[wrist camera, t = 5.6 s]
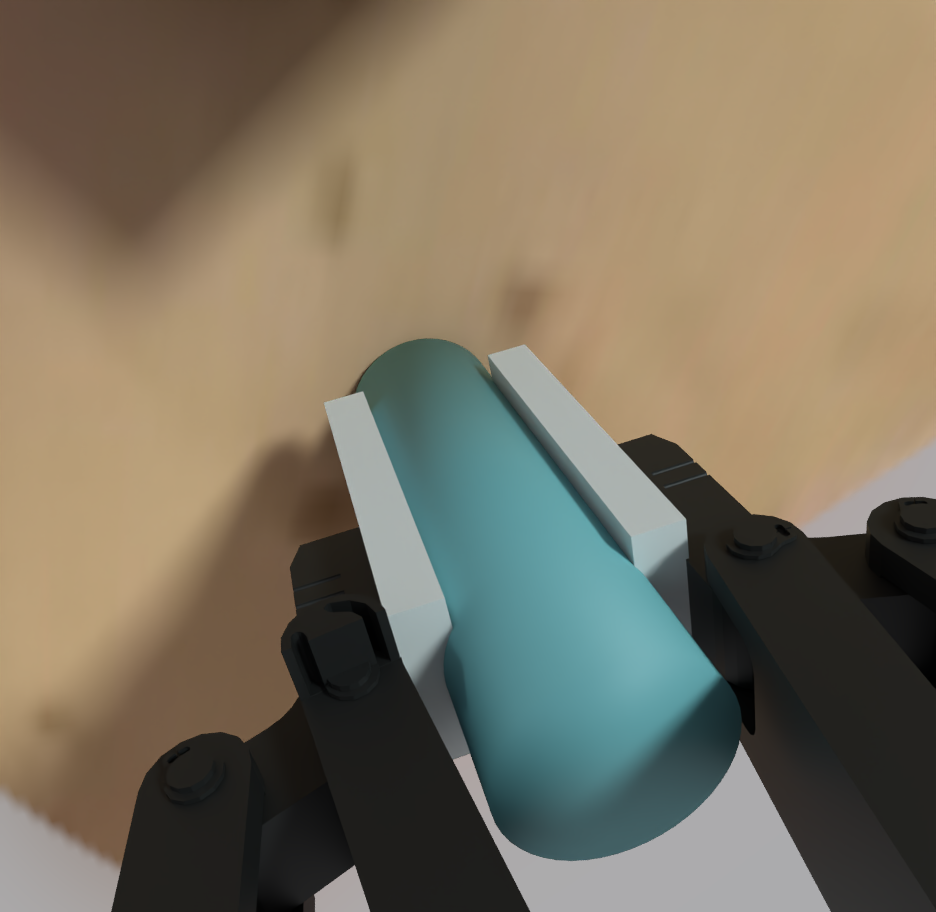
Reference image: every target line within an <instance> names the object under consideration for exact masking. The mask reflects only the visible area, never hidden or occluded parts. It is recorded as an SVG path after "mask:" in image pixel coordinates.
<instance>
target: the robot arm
mask: <svg viewBox="0 0 936 912" xmlns="http://www.w3.org/2000/svg"><path fill="white" fill-rule="evenodd" d="M488 360H489V365H490V370H491V375H492V380H493V382H494V383H495V384H496V385H497V387H498V388H499V389H500V391H501V392H502V393H503V395H504V396H505V397H506V399H507V400H508V401H509V402H510V404H511V405H512V406H513V408H514V409H515V410H516V412H517V413H518V414H519V416H520V417H521V418H522V420H523V421H524V422H525V423H526V425H527V426H528V427H529V429H530V430H531V431H532V433H533V434H534V435H535V437H536V438H537V439H538V440H539V442H540V443H541V444H542V446H543V447H544V448H545V450H546V451H547V452H548V454H549V455H550V456H551V458H552V459H553V460H554V461H555V463H556V464H557V465H558V467H559V468H560V469H561V471H562V472H563V473H564V475H565V476H566V477H567V479H568V480H569V481H570V482H571V484H572V485H573V486H574V488H575V489H576V490H577V492H578V493H579V494H580V496H581V497H582V498H583V499H584V501H585V502H586V503H587V505H588V506H589V507H590V509H591V510H592V511H593V513H594V514H595V515H596V517H597V518H598V519H599V520H600V522H601V523H602V524H603V526H604V527H605V528H606V530H607V531H608V532H609V534H610V535H611V536H612V537H613V539H614V540H615V541H616V543H617V544H618V545H619V547H620V548H621V549H622V551H623V552H624V553H625V555H626V556H627V557H628V558H629V560H630V561H631V562H632V564H633V565H634V566H635V567H636V568H637V569H638V570H640V571H641V572H642V573H643V574H644V576H645V577H646V578H647V579H648V580H649V581H650V583H651V584H652V585H653V587H654V588H655V589H656V590H657V592H658V593H659V594H660V596H661V597H662V598H663V600H664V601H665V602H666V603H667V605H668V606H669V607H670V609H671V610H672V611H673V613H674V614H675V615H676V616H677V618H678V619H679V620H680V622H681V623H682V624H683V625H684V627H685V628H686V629H687V631H688V632H689V633H690V635H691V636H692V637H693V638H694V640H695V641H696V642H697V644H698V645H699V646H700V648H701V649H702V650H703V651H704V653H705V654H706V655H707V657H708V658H709V659H710V660H711V662H712V663H713V664H714V666H715V667H716V668H717V670H718V671H719V672H720V673H721V675H722V676H723V677H724V679H725V680H726V681H727V683H728V684H729V685H730V687H731V688H732V690H733V692H734V693H735V695H736V697H737V700H738V703H739V706H740V711H741V718H742V722H741V735H740V742H741V743H742V745H743V747H744V749H745V751H746V752H747V755H748V757H749V758H750V760H751V762H752V764H753V766H754V768H755V770H756V772H757V773H758V775H759V777H760V779H761V781H762V783H763V785H764V787H765V788H766V790H767V792H768V794H769V796H770V798H771V800H772V802H773V804H774V805H775V807H776V809H777V811H778V813H779V815H780V817H781V819H782V820H783V822H784V824H785V826H786V828H787V830H788V832H789V834H790V836H791V837H792V839H793V841H794V843H795V845H796V847H797V849H798V851H799V852H800V854H801V856H802V858H803V860H804V862H805V864H806V866H807V868H808V869H809V871H810V873H811V875H812V877H813V879H814V881H815V883H816V884H817V886H818V888H819V890H820V892H821V894H822V896H823V898H824V899H825V901H826V903H827V905H828V907H829V909H830V911H831V912H936V499H931V498H926V497H910V498H899V499H896V500H892V501H888V502H885V503H883V504H881V505H880V506H878V507H877V508H876V509H874V510H872V512H871V514H870V516H869V518H868V521H867V531H866V534H856V535H846V536H835V537H821V538H807V536H806V535H805V534H804V533H803V532H802V531H801V530H800V529H798V528H797V527H796V526H794V525H793V524H792V523H791V522H788V521H785V520H782V519H779V518H777V517H774V516H765V515H755V514H753V515H751V514H750V513H749V512H748V511H747V510H746V509H745V508H744V507H743V506H742V505H741V504H740V503H739V502H738V501H737V500H736V499H735V498H733V497H732V496H731V495H730V494H729V493H728V492H727V491H726V490H725V489H724V488H723V487H722V486H721V485H720V484H719V483H718V482H716V481H715V480H714V479H713V478H712V477H711V476H710V475H707V473H706V471H705V470H704V469H703V468H702V467H701V466H700V465H698V464H697V463H694V461H693V459H692V458H691V457H690V456H689V455H688V454H687V453H686V452H685V451H684V450H683V449H682V448H680V447H679V446H678V445H677V444H675V443H673V442H670V441H668V440H665V439H662V438H660V437H657V436H655V435H652V434H650V435H647V436H644V437H640V438H637V439H634V440H631V441H628V442H624V443H621V444H618V445H617V444H616V443H615V442H614V440H613V439H612V438H611V437H610V436H609V435H608V434H607V433H606V432H605V431H604V430H603V429H602V427H601V426H600V425H599V424H598V423H597V422H596V421H595V420H594V419H593V418H592V417H591V416H590V414H589V413H588V412H587V411H586V410H585V409H584V408H583V407H582V406H581V405H580V404H579V403H578V401H577V400H576V399H575V398H574V397H573V396H572V395H571V394H570V393H569V392H568V391H567V390H566V388H565V387H564V386H563V385H562V384H561V383H560V382H559V381H558V380H557V379H556V378H555V377H554V375H553V374H552V373H551V372H550V371H549V370H548V369H547V368H546V367H545V366H544V365H543V364H542V363H541V361H540V360H539V359H538V358H537V357H536V356H535V355H534V354H533V353H532V352H531V351H530V350H529V348H528V347H527V346H526V345H521V346H518V347H514V348H511V349H507V350H504V351H500V352H497V353H493V354H490V355H488ZM324 405H325V409H326V412H327V416H328V419H329V423H330V426H331V430H332V433H333V437H334V440H335V444H336V447H337V451H338V454H339V458H340V461H341V464H342V468H343V471H344V475H345V478H346V482H347V485H348V489H349V492H350V496H351V499H352V503H353V506H354V510H355V513H356V517H357V520H358V524H359V527H358V528H355V529H352V530H348V531H345V532H342V533H339V534H336V535H332V536H329V537H326V538H323V539H319V540H316V541H313V542H310V543H307V544H303V545H300V547H299V549H298V551H297V553H296V556H295V558H294V560H293V562H292V564H291V567H290V571H291V578H292V585H293V590H294V600H295V606H296V609H297V610H296V614H297V616H296V617H295V618H294V619H293V620H292V621H291V622H289V624H288V626H287V628H286V629H285V631H284V633H283V635H282V637H281V653H282V655H283V658H284V660H285V663H286V665H287V668H288V670H289V673H290V675H291V678H292V680H293V682H294V685H295V687H296V690H297V692H298V695H299V697H298V699H297V700H296V702H295V703H294V705H293V707H292V708H291V709H290V710H289V711H288V712H287V713H286V714H285V715H284V716H283V717H282V718H281V719H280V720H278V721H277V722H276V723H274V724H273V725H272V726H270V727H269V728H268V729H266V730H264V731H263V732H261V733H260V734H258V735H256V736H255V737H253V738H251V739H250V740H248V741H247V742H245V743H244V742H243V741H242V740H241V739H240V738H239V737H237V736H234V735H230V734H227V733H223V732H218V733H208V734H201V735H198V736H196V737H193V738H191V739H188V740H186V741H183V742H181V743H179V744H178V745H176V746H175V747H174V748H172V749H171V750H169V751H168V752H167V753H165V754H164V755H162V756H161V757H160V758H159V759H158V761H157V762H156V763H155V764H154V765H153V766H152V768H151V769H150V770H149V771H148V772H147V773H146V776H145V778H144V780H143V782H142V785H141V787H140V789H139V792H138V795H137V800H136V804H135V809H134V813H133V818H132V822H131V826H130V831H129V835H128V840H127V844H126V849H125V853H124V857H123V862H122V866H121V871H120V875H119V880H118V884H117V889H116V893H115V898H114V902H113V906H112V911H111V912H315V897H314V894H315V893H317V892H318V891H320V890H321V889H322V888H324V887H325V886H326V885H328V884H329V883H331V882H332V881H333V880H334V879H336V878H337V877H339V876H340V875H342V874H343V873H344V872H346V871H347V870H348V869H350V868H351V867H353V866H354V865H355V866H356V869H357V873H358V876H359V879H360V882H361V885H362V888H363V891H364V894H365V897H366V900H367V903H368V906H369V909H370V912H530V910H529V908H528V907H527V905H526V903H525V901H524V899H523V897H522V895H521V893H520V891H519V889H518V887H517V885H516V883H515V881H514V879H513V877H512V875H511V873H510V871H509V869H508V868H507V865H506V863H505V862H504V860H503V858H502V856H501V854H500V852H499V850H498V848H497V846H496V844H495V842H494V840H493V838H492V836H491V834H490V832H489V830H488V828H487V826H486V824H485V822H484V820H483V818H482V817H481V815H480V813H479V811H478V809H477V807H476V805H475V803H474V801H473V799H472V797H471V795H470V793H469V791H468V789H467V787H466V785H465V783H464V781H463V780H462V777H461V775H460V773H459V771H458V770H457V768H456V766H455V764H454V762H453V759H456V758H459V757H461V756H464V755H467V754H470V751H469V749H468V746H467V743H466V740H465V737H464V734H463V731H462V729H461V726H460V723H459V720H458V717H457V714H456V712H455V709H454V706H453V703H452V700H451V697H450V695H449V692H448V689H447V686H446V682H445V677H444V655H445V648H446V645H447V641H448V638H449V635H450V633H451V631H452V629H453V627H452V624H451V620H450V616H449V612H448V609H447V605H446V601H445V597H444V595H443V592H442V590H441V587H440V585H439V582H438V580H437V577H436V575H435V572H434V570H433V567H432V565H431V562H430V559H429V557H428V554H427V552H426V549H425V547H424V544H423V542H422V539H421V537H420V534H419V532H418V529H417V527H416V524H415V522H414V519H413V517H412V514H411V511H410V509H409V506H408V504H407V501H406V499H405V496H404V494H403V491H402V489H401V486H400V484H399V481H398V479H397V476H396V474H395V471H394V468H393V466H392V463H391V461H390V458H389V456H388V453H387V451H386V448H385V446H384V443H383V441H382V438H381V436H380V433H379V431H378V428H377V425H376V423H375V420H374V418H373V415H372V413H371V410H370V408H369V405H368V403H367V400H366V398H365V395H364V393H363V391H362V392H359V393H355V394H352V395H348V396H345V397H342V398H338V399H335V400H331V401H328V402H324Z"/></svg>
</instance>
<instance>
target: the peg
mask: <svg viewBox="0 0 936 912" xmlns="http://www.w3.org/2000/svg"><path fill="white" fill-rule="evenodd" d="M362 391H363V393H364V395H365V398H366V400H367V403H368V405H369V408H370V410H371V413H372V415H373V418H374V420H375V423H376V425H377V428H378V431H379V433H380V436H381V438H382V441H383V443H384V446H385V448H386V451H387V453H388V456H389V458H390V461H391V463H392V466H393V468H394V471H395V474H396V476H397V479H398V481H399V484H400V486H401V489H402V491H403V494H404V496H405V499H406V501H407V504H408V506H409V509H410V511H411V514H412V517H413V519H414V522H415V524H416V527H417V529H418V532H419V534H420V537H421V539H422V542H423V544H424V547H425V549H426V552H427V554H428V557H429V559H430V562H431V565H432V567H433V570H434V572H435V575H436V577H437V580H438V582H439V585H440V587H441V590H442V592H443V595H444V597H445V601H446V605H447V609H448V612H449V616H450V620H451V624H452V627H453V629H452V631H451V633H450V635H449V638H448V641H447V645H446V648H445V655H444V677H445V682H446V686H447V689H448V692H449V695H450V697H451V700H452V703H453V706H454V709H455V712H456V714H457V717H458V720H459V723H460V726H461V729H462V731H463V734H464V737H465V740H466V743H467V746H468V749H469V751H470V754H471V757H472V760H473V763H474V765H475V768H476V771H477V774H478V777H479V780H480V783H481V785H482V788H483V791H484V794H485V797H486V800H487V802H488V805H489V808H490V811H491V814H492V816H493V819H494V821H495V823H496V825H497V827H498V828H499V830H500V831H501V833H502V834H503V835H504V836H505V837H506V838H507V839H508V840H509V841H510V842H511V843H513V844H514V845H516V846H517V847H519V848H520V849H522V850H524V851H526V852H528V853H530V854H533V855H536V856H540V857H543V858H548V859H554V860H567V861H577V860H590V859H595V858H602V857H606V856H610V855H614V854H618V853H621V852H624V851H627V850H630V849H632V848H635V847H637V846H639V845H642V844H644V843H647V842H649V841H650V840H652V839H654V838H656V837H658V836H660V835H662V834H663V833H665V832H666V831H668V830H670V829H671V828H673V827H674V826H676V825H677V824H678V823H680V822H681V821H682V820H684V819H685V818H686V817H688V816H689V815H690V814H691V813H692V812H693V811H695V810H696V809H697V808H698V807H699V806H700V805H701V804H702V803H703V802H704V801H705V800H706V799H707V798H708V797H709V796H710V794H711V793H712V792H713V791H714V789H715V788H716V787H717V786H718V784H719V783H720V782H721V780H722V778H723V777H724V775H725V774H726V772H727V770H728V769H729V767H730V765H731V763H732V761H733V759H734V757H735V754H736V751H737V748H738V745H739V740H740V735H741V722H742V718H741V711H740V706H739V703H738V700H737V697H736V695H735V693H734V692H733V690H732V688H731V687H730V685H729V684H728V683H727V681H726V680H725V679H724V677H723V676H722V675H721V673H720V672H719V671H718V670H717V668H716V667H715V666H714V664H713V663H712V662H711V660H710V659H709V658H708V657H707V655H706V654H705V653H704V651H703V650H702V649H701V648H700V646H699V645H698V644H697V642H696V641H695V640H694V638H693V637H692V636H691V635H690V633H689V632H688V631H687V629H686V628H685V627H684V625H683V624H682V623H681V622H680V620H679V619H678V618H677V616H676V615H675V614H674V613H673V611H672V610H671V609H670V607H669V606H668V605H667V603H666V602H665V601H664V600H663V598H662V597H661V596H660V594H659V593H658V592H657V590H656V589H655V588H654V587H653V585H652V584H651V583H650V581H649V580H648V579H647V578H646V577H645V576H644V574H643V573H642V572H641V571H640V570H638V569H637V568H636V567H635V566H634V565H633V564H632V562H631V561H630V560H629V558H628V557H627V556H626V555H625V553H624V552H623V551H622V549H621V548H620V547H619V545H618V544H617V543H616V541H615V540H614V539H613V537H612V536H611V535H610V534H609V532H608V531H607V530H606V528H605V527H604V526H603V524H602V523H601V522H600V520H599V519H598V518H597V517H596V515H595V514H594V513H593V511H592V510H591V509H590V507H589V506H588V505H587V503H586V502H585V501H584V499H583V498H582V497H581V496H580V494H579V493H578V492H577V490H576V489H575V488H574V486H573V485H572V484H571V482H570V481H569V480H568V479H567V477H566V476H565V475H564V473H563V472H562V471H561V469H560V468H559V467H558V465H557V464H556V463H555V461H554V460H553V459H552V458H551V456H550V455H549V454H548V452H547V451H546V450H545V448H544V447H543V446H542V444H541V443H540V442H539V440H538V439H537V438H536V437H535V435H534V434H533V433H532V431H531V430H530V429H529V427H528V426H527V425H526V423H525V422H524V421H523V420H522V418H521V417H520V416H519V414H518V413H517V412H516V410H515V409H514V408H513V406H512V405H511V404H510V402H509V401H508V400H507V399H506V397H505V396H504V395H503V393H502V392H501V391H500V389H499V388H498V387H497V385H496V384H495V383H494V382H493V380H492V377H491V375H490V374H489V373H488V371H487V370H486V369H485V368H484V366H483V365H482V364H481V362H480V361H479V360H478V359H477V358H476V357H475V356H474V355H473V354H472V353H471V352H469V351H468V350H466V349H465V348H463V347H462V346H459V345H457V344H455V343H452V342H449V341H446V340H440V339H417V340H413V341H408V342H405V343H403V344H400V345H398V346H396V347H394V348H392V349H390V350H388V351H387V352H385V353H384V354H382V355H381V356H380V357H379V358H378V359H376V360H375V361H374V362H373V363H372V365H371V366H370V367H369V368H368V369H367V371H366V372H365V374H364V375H363V377H362V379H361V380H360V382H359V384H358V387H357V390H356V393H359V392H362Z"/></svg>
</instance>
